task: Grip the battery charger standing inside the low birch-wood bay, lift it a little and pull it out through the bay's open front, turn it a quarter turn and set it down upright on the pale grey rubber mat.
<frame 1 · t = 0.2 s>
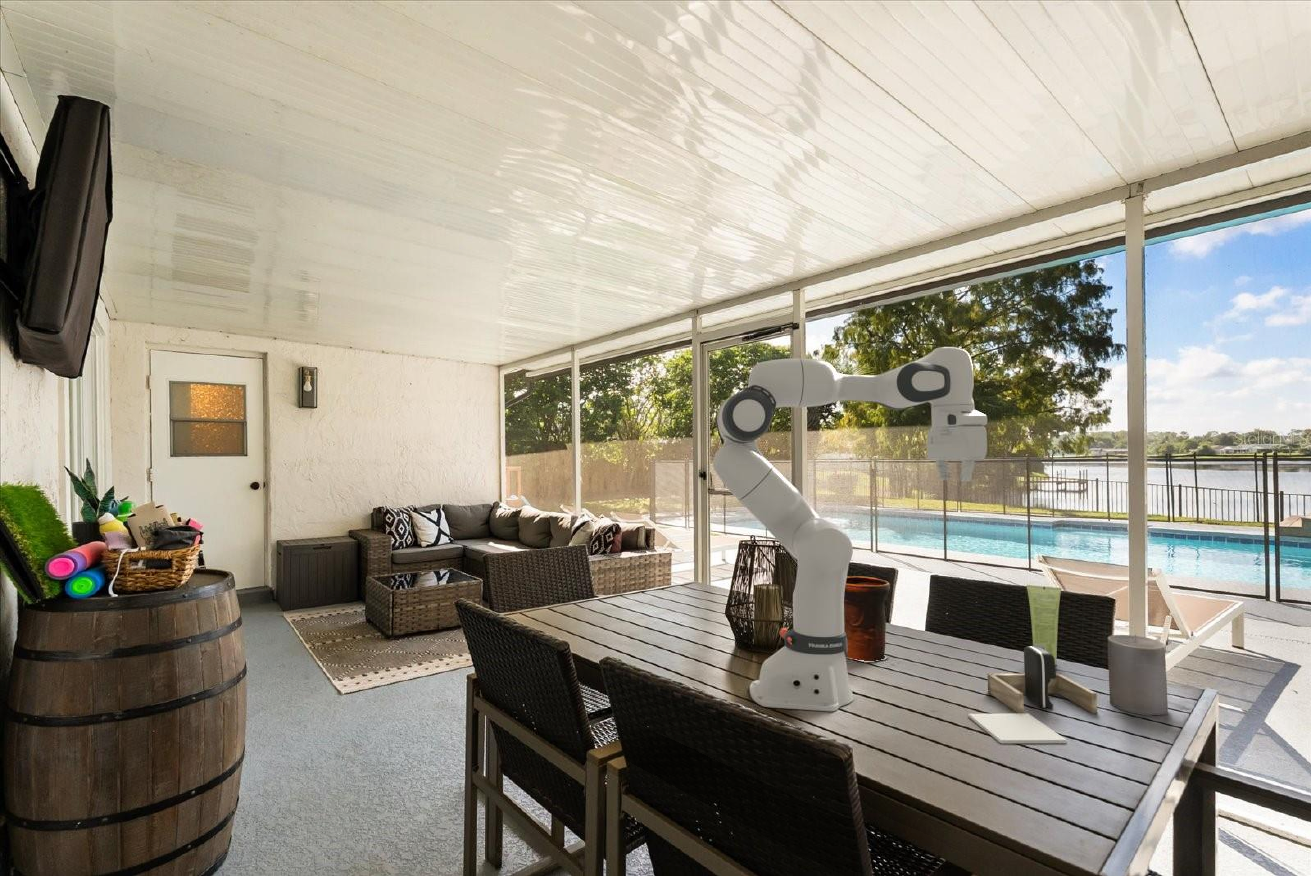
hand: (954, 480, 140), 47 cm above the table, tool pointing down, fingers open, 8 cm apart
battery charger: (1041, 704, 133), on the table
mat: (1015, 729, 120), on the table
bay: (1041, 702, 133), on the table
tube: (1046, 664, 159), on the table
vessel: (863, 655, 167), on the table
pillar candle: (1138, 708, 130), on the table
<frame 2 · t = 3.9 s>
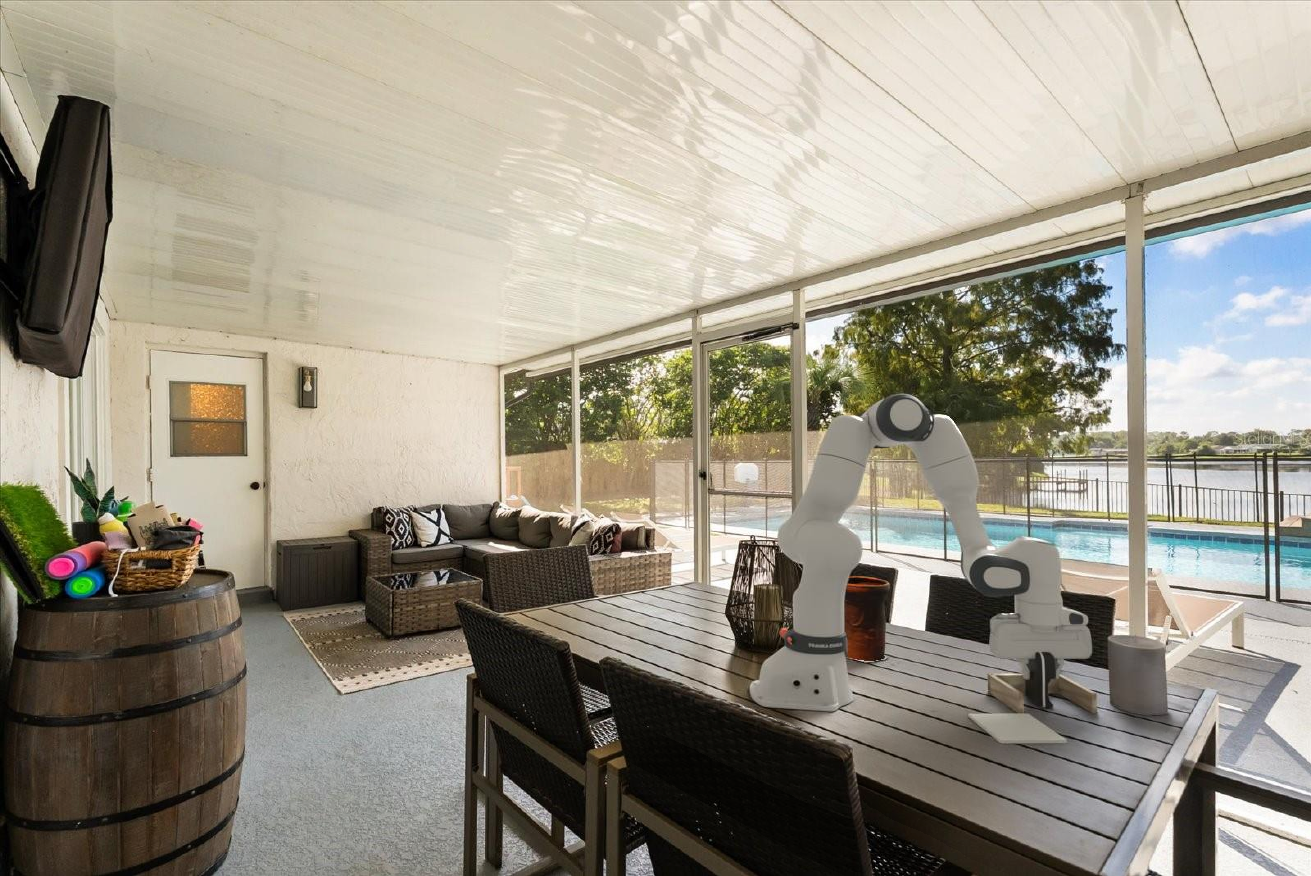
hand: (1040, 678, 133), 5 cm above the table, tool pointing down, fingers closed on battery charger, 4 cm apart
battery charger: (1041, 703, 133), on the table, touching gripper
everything else where it was.
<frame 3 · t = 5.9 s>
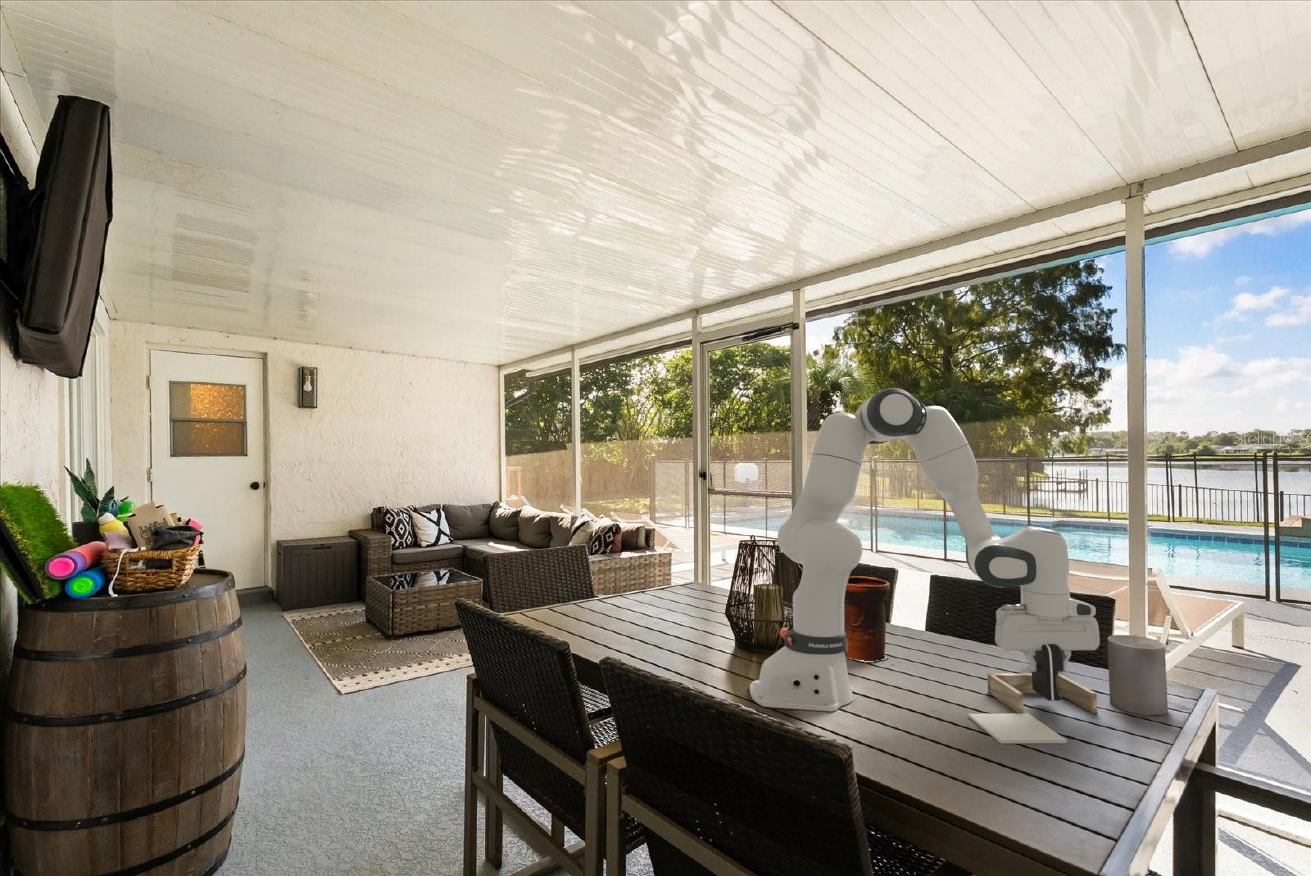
hand: (1047, 670, 131), 8 cm above the table, tool pointing down, fingers closed on battery charger, 4 cm apart
battery charger: (1049, 697, 130), point 2 cm above the table, touching gripper
everything else where it was.
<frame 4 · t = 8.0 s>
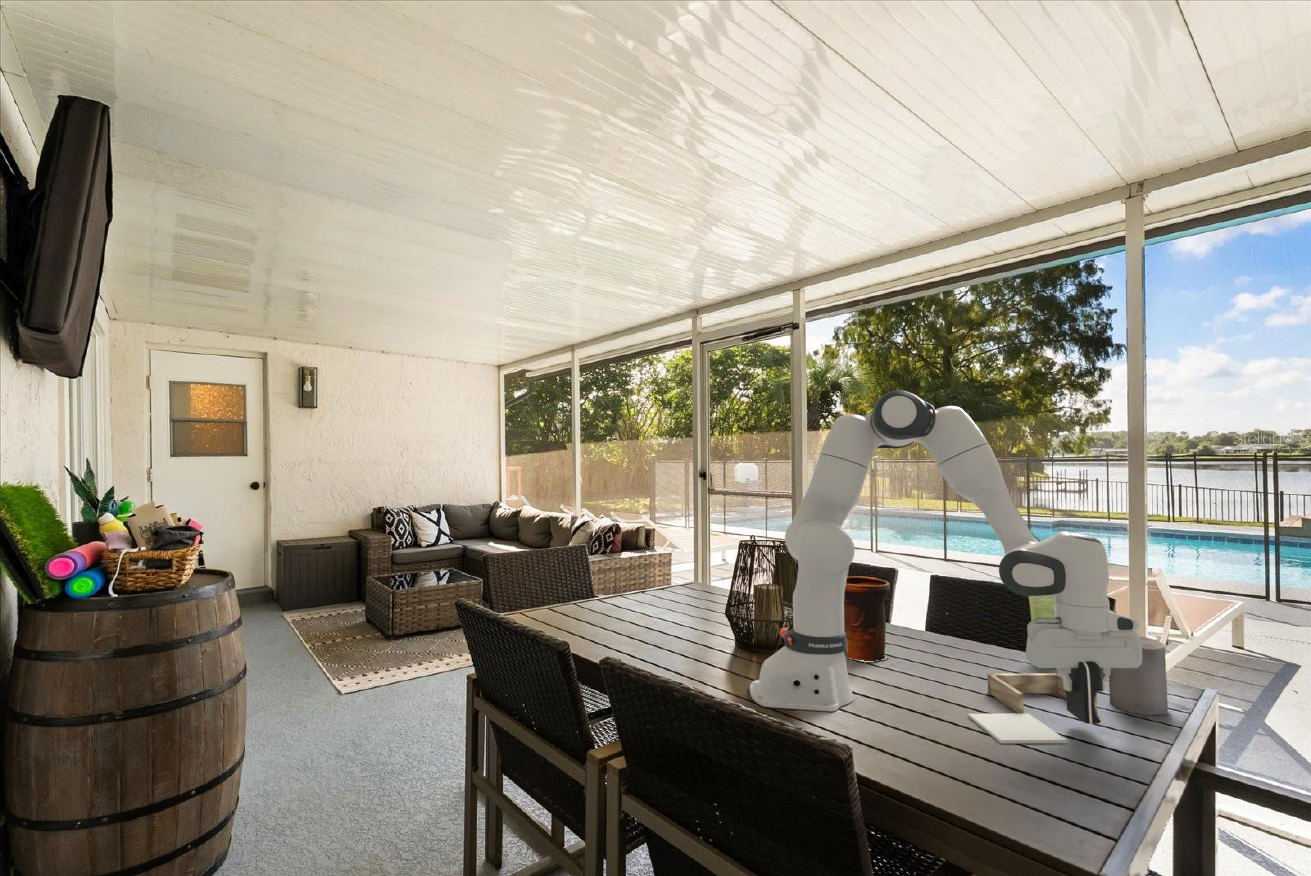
hand: (1083, 690, 119), 8 cm above the table, tool pointing down, fingers closed on battery charger, 4 cm apart
battery charger: (1086, 719, 119), point 2 cm above the table, touching gripper
everything else where it was.
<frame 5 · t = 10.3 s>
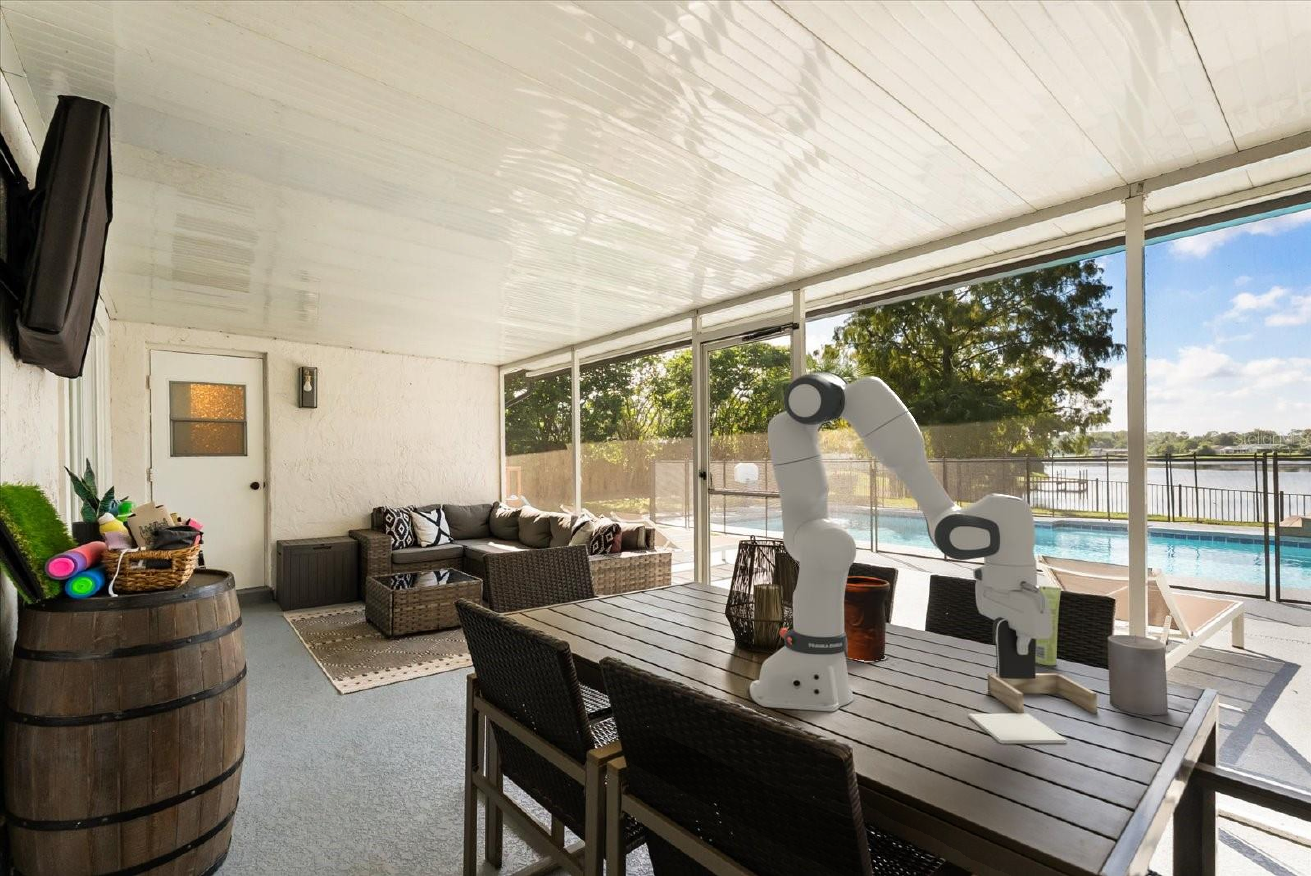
hand: (1013, 649, 120), 15 cm above the table, tool pointing down, fingers closed on battery charger, 4 cm apart
battery charger: (1013, 677, 121), point 10 cm above the table, touching gripper
everything else where it was.
when the fingers open (6 cm above the table, at t = 12.1 s): battery charger moves 1 cm, resting on mat.
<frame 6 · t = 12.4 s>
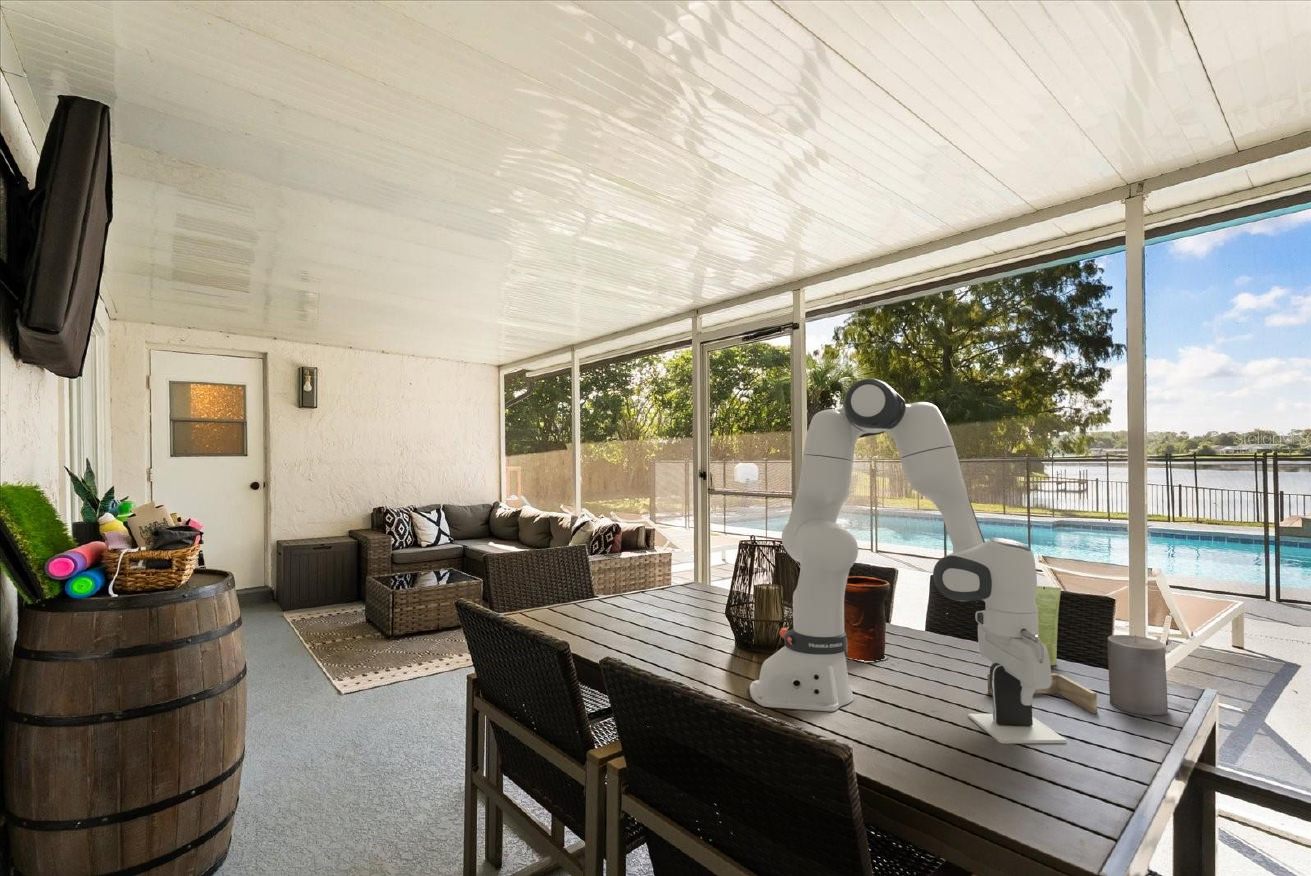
hand: (1013, 695, 120), 6 cm above the table, tool pointing down, fingers open, 7 cm apart
battery charger: (1011, 723, 121), resting on mat
everything else where it was.
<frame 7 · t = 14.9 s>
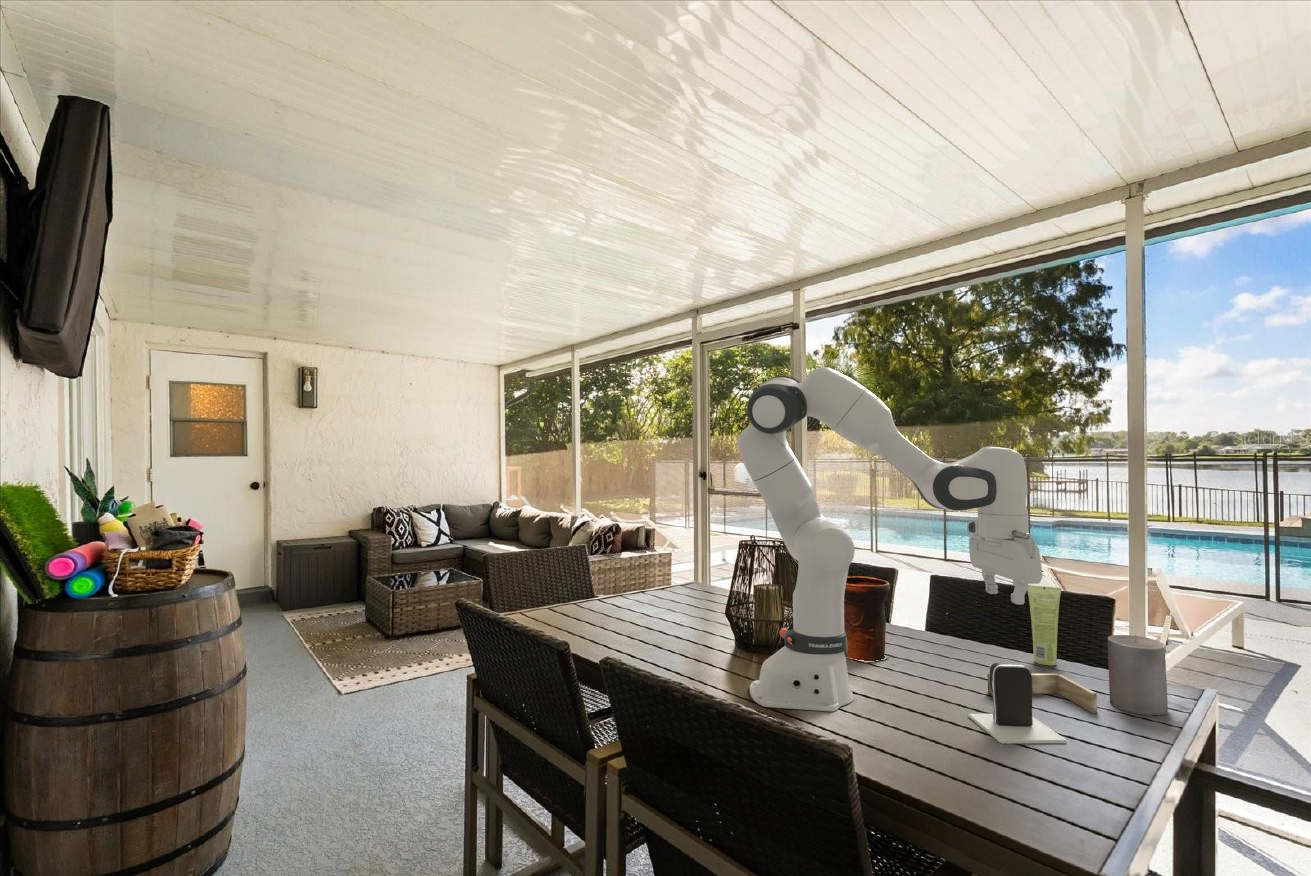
hand: (1004, 598, 123), 25 cm above the table, tool pointing down, fingers open, 8 cm apart
nothing on the table moved.
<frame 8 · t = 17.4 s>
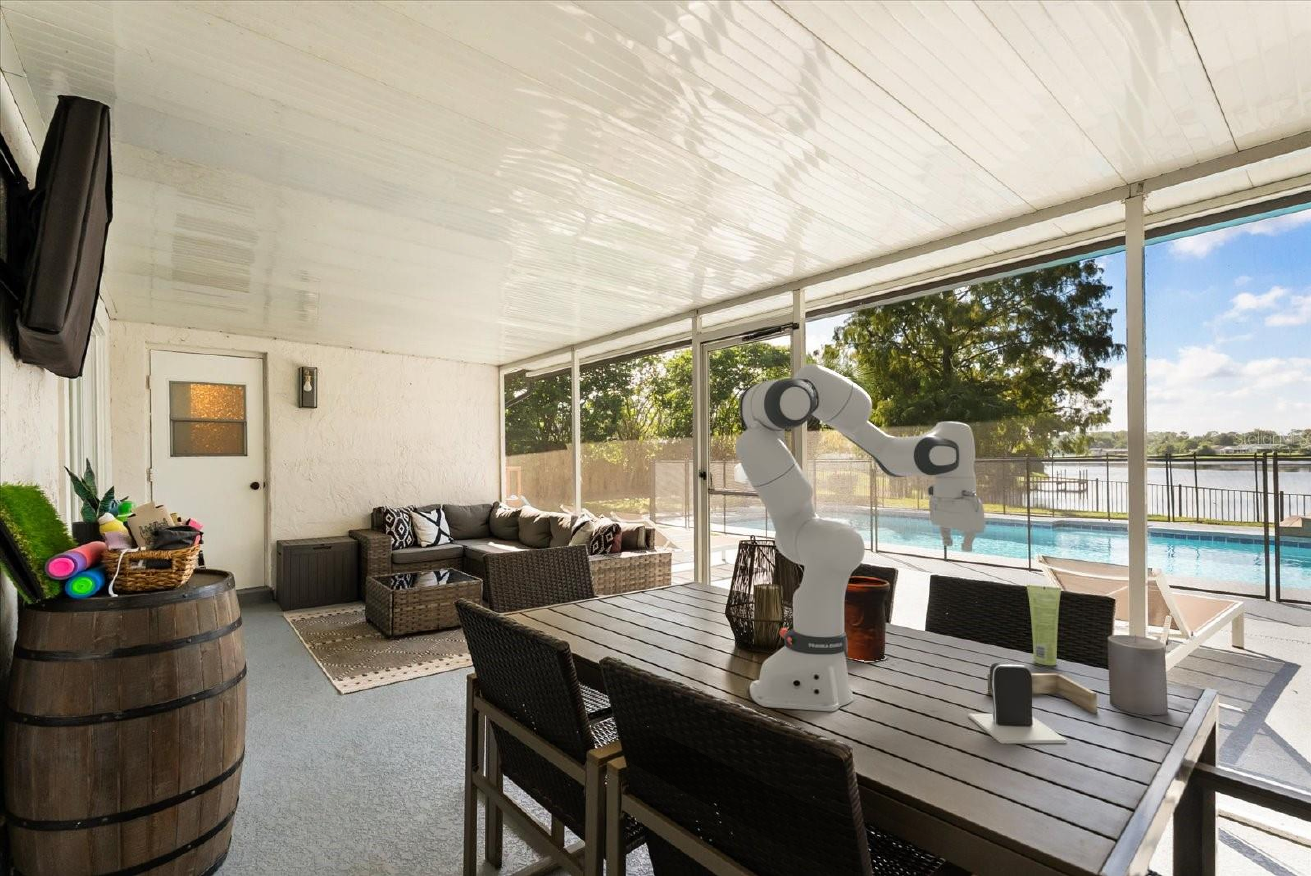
hand: (957, 548, 147), 31 cm above the table, tool pointing down, fingers open, 8 cm apart
nothing on the table moved.
at the end: battery charger inside the target area on the mat (1.5 cm from its centre), point 0.4 cm above the mat's base; battery charger tilted 0°; the gripper is holding nothing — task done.
